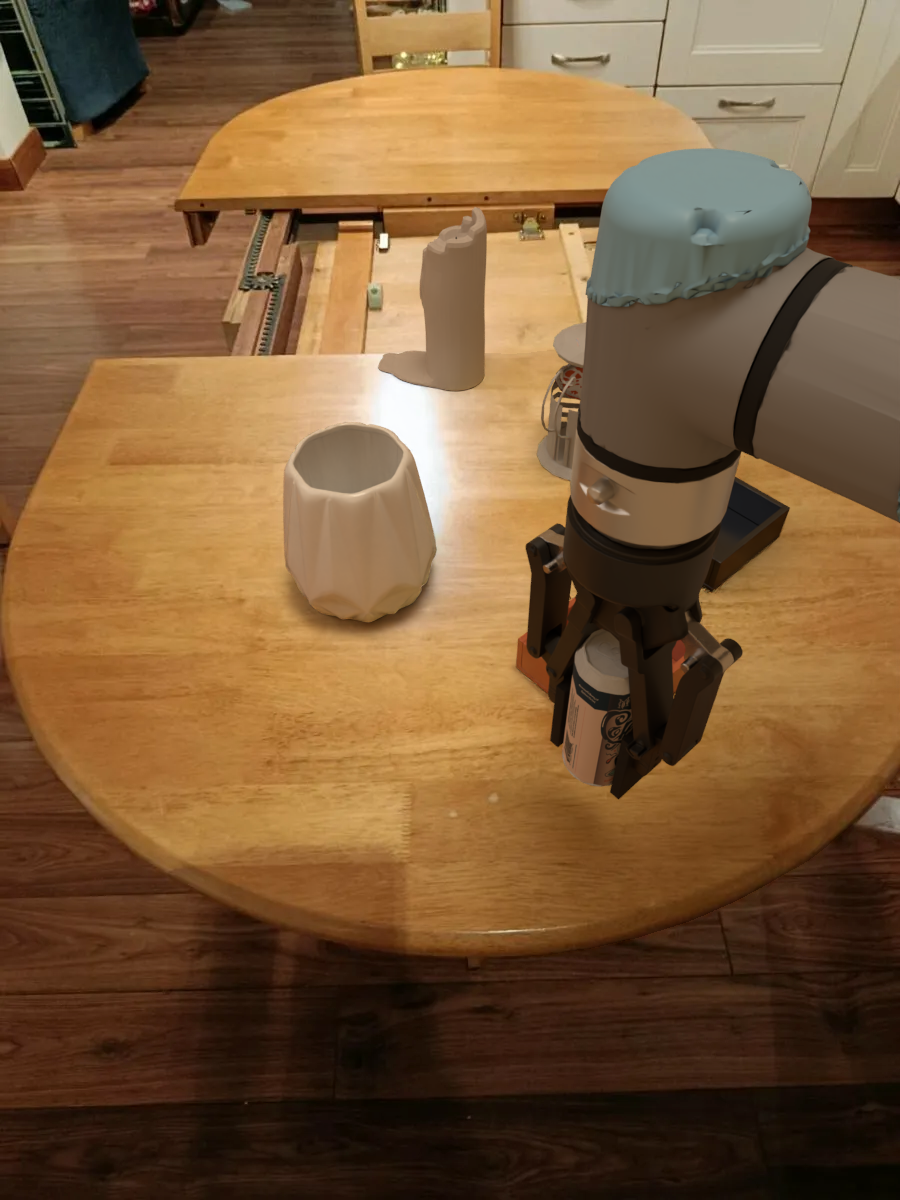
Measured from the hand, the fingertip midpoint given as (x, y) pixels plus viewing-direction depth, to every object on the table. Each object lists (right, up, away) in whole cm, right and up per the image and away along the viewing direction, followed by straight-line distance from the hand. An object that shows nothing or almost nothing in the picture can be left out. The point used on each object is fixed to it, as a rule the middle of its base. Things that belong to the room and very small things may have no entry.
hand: (596, 757), depth 59 cm
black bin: (+15, +17, +27) cm, 36 cm away
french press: (+4, +27, +36) cm, 45 cm away
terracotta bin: (+4, +5, +16) cm, 17 cm away
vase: (-18, +13, +24) cm, 33 cm away
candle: (-13, +40, +48) cm, 64 cm away
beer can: (0, 0, 0) cm, 1 cm away
